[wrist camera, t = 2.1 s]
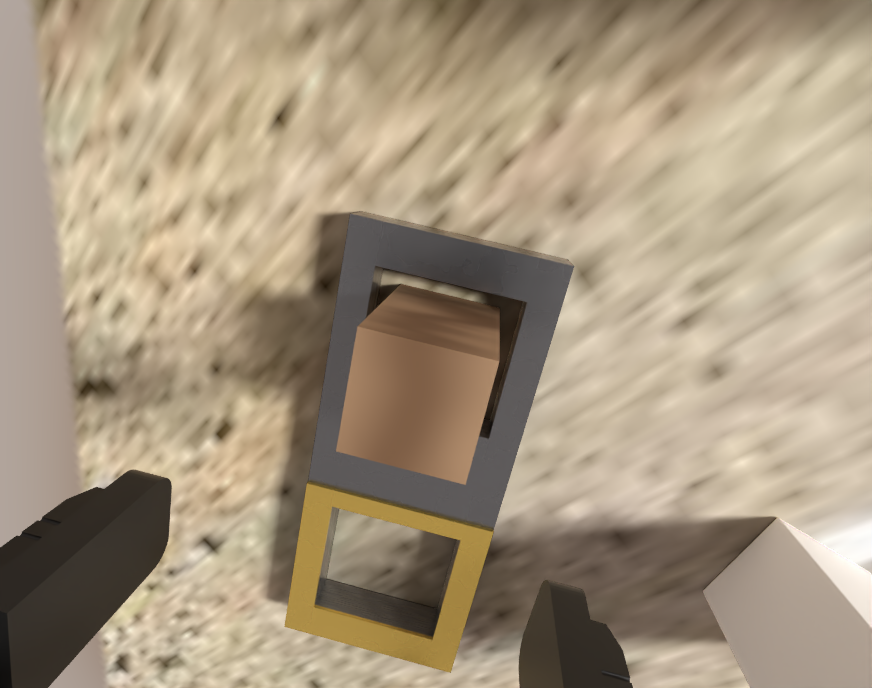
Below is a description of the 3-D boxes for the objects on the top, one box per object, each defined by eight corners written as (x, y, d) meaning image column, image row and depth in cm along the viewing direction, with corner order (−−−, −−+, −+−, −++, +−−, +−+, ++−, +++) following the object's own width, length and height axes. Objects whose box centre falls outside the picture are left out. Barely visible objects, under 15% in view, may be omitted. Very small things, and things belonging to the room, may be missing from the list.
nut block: (499, 307, 25) (499, 361, 17) (475, 398, 26) (465, 484, 19) (400, 283, 25) (357, 326, 17) (382, 375, 27) (335, 451, 19)
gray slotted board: (568, 259, 24) (574, 266, 22) (453, 640, 31) (450, 672, 29) (361, 211, 24) (348, 213, 22) (298, 597, 32) (284, 626, 30)
